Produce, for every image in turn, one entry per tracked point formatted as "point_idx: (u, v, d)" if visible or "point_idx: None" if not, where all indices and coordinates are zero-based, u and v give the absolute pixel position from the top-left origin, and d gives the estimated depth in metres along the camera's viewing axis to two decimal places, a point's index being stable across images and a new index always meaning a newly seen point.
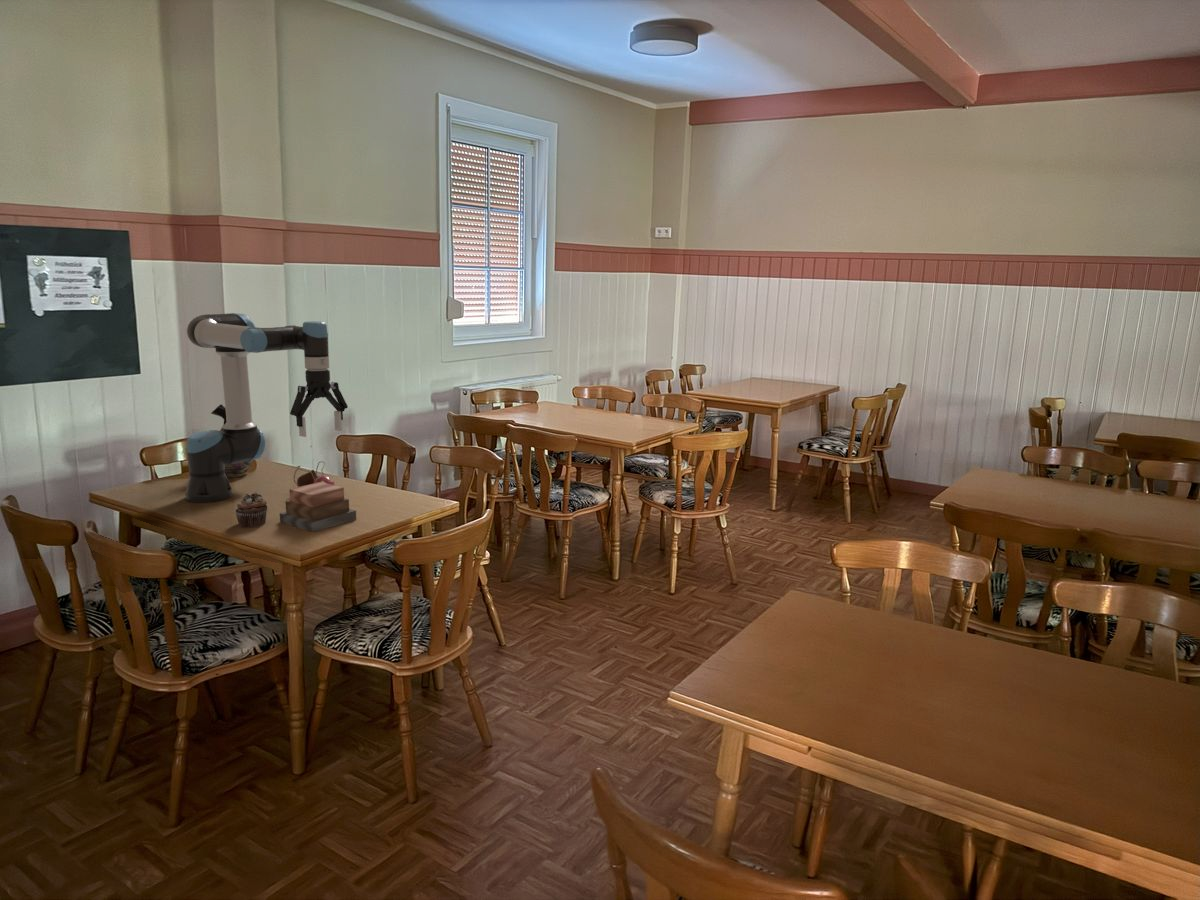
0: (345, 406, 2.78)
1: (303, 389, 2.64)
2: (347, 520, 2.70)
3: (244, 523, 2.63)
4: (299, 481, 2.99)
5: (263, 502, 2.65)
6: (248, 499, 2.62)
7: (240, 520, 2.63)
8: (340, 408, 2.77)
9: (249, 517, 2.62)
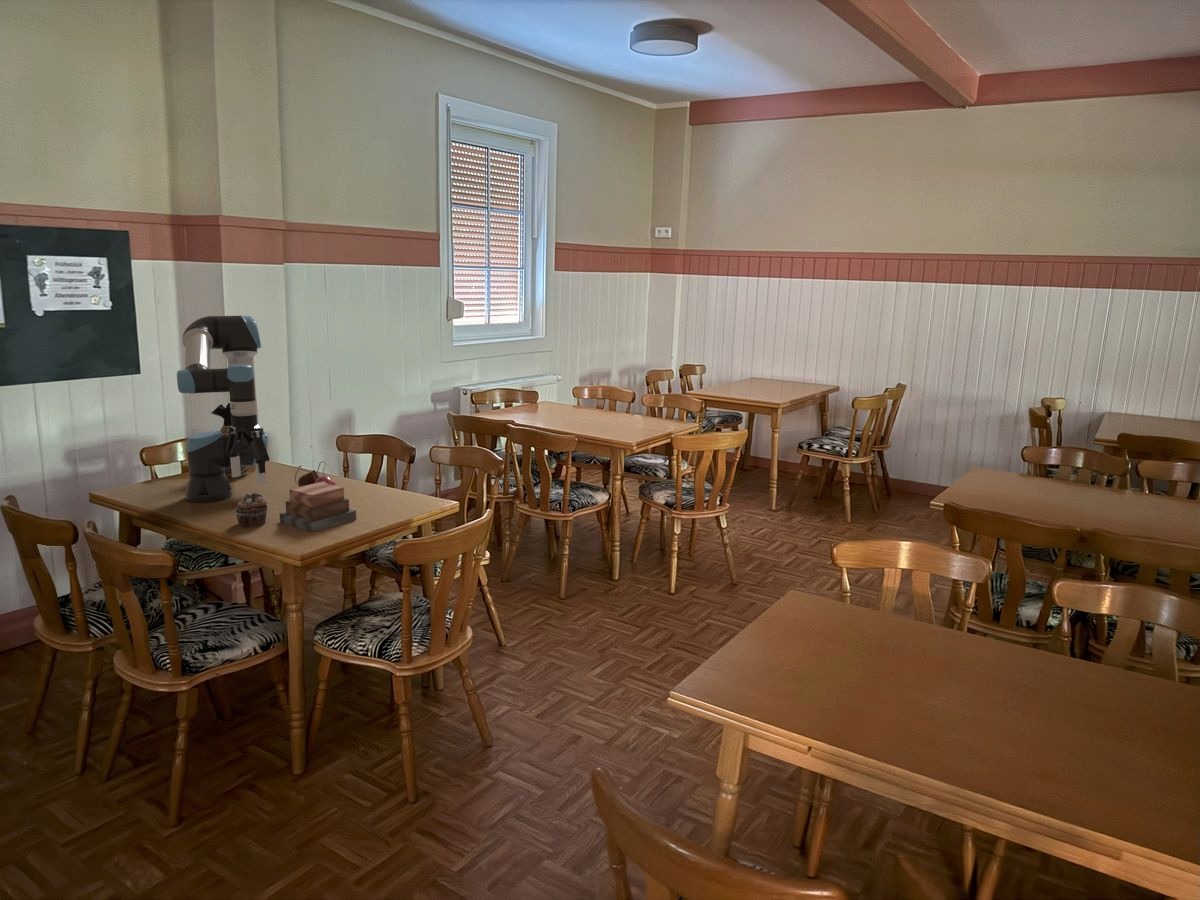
0: (260, 459, 2.56)
1: (229, 430, 2.63)
2: (347, 520, 2.70)
3: (244, 523, 2.63)
4: (300, 481, 2.99)
5: (263, 502, 2.65)
6: (248, 499, 2.62)
7: (240, 520, 2.63)
8: (256, 460, 2.57)
9: (249, 517, 2.62)
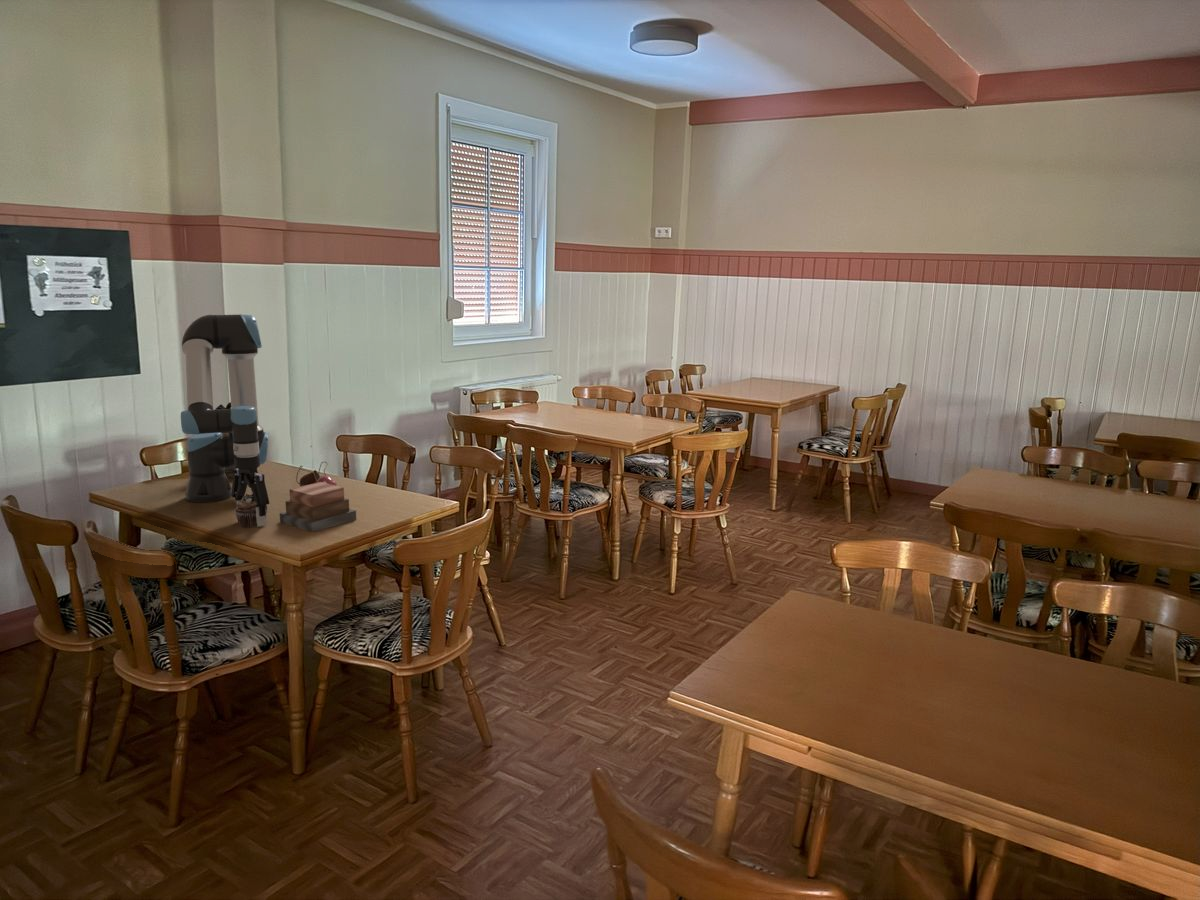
0: (260, 503, 2.60)
1: (233, 472, 2.66)
2: (347, 520, 2.70)
3: (244, 523, 2.63)
4: (301, 481, 2.98)
5: None
6: (248, 499, 2.62)
7: (240, 520, 2.63)
8: (257, 503, 2.61)
9: (249, 517, 2.62)
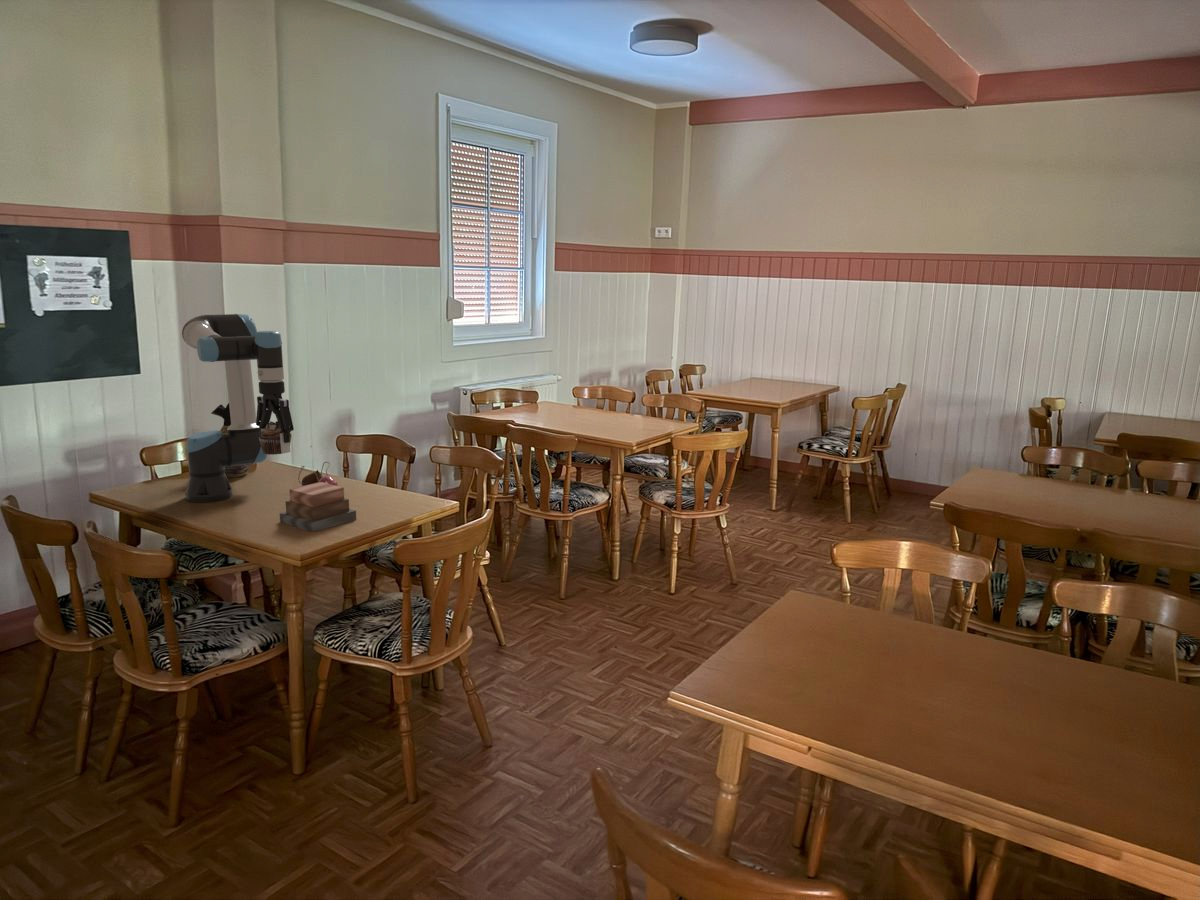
0: (285, 429, 2.56)
1: (257, 399, 2.62)
2: (347, 520, 2.70)
3: (268, 450, 2.59)
4: (303, 481, 2.98)
5: None
6: (272, 425, 2.58)
7: (264, 447, 2.59)
8: (281, 429, 2.57)
9: (273, 444, 2.58)
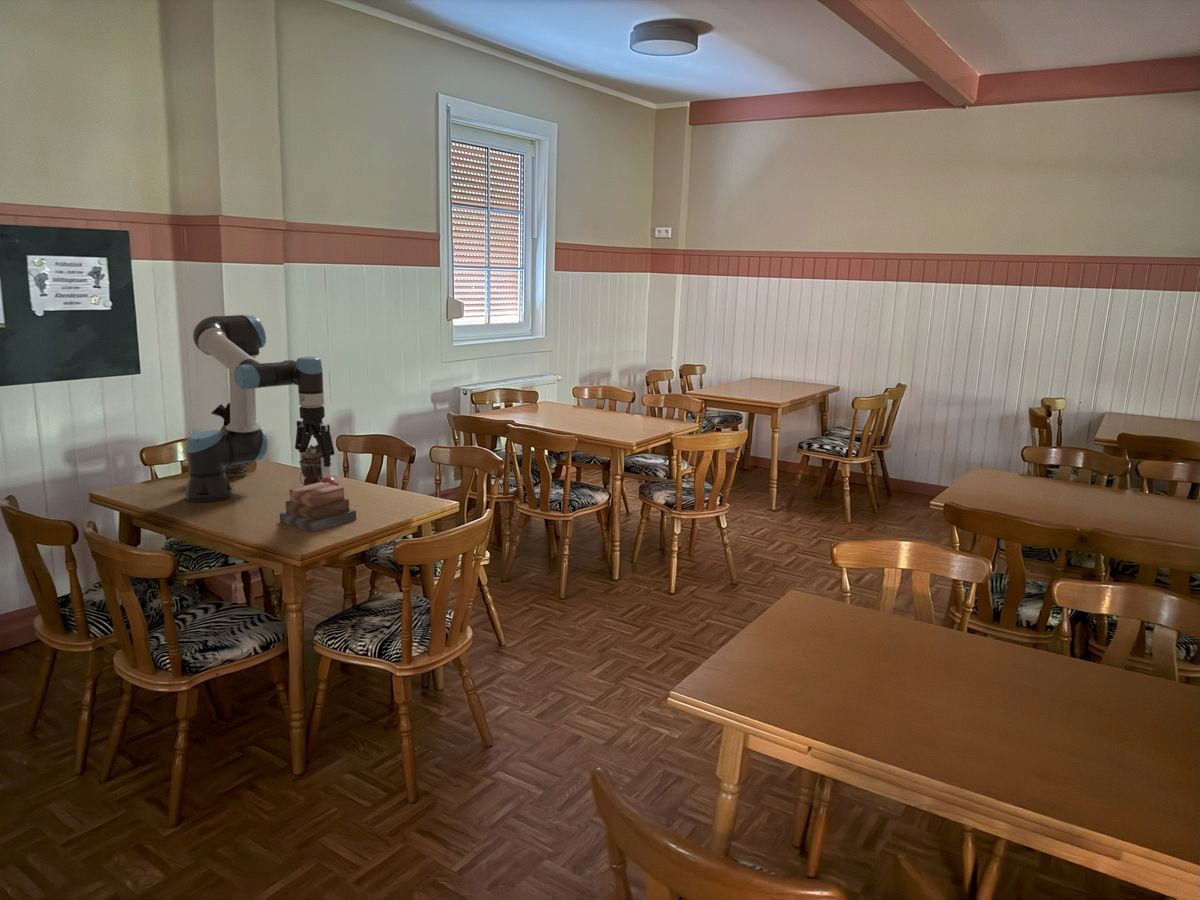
0: (326, 453, 2.61)
1: (297, 424, 2.67)
2: (347, 520, 2.70)
3: (309, 474, 2.64)
4: (305, 481, 2.98)
5: None
6: (313, 449, 2.63)
7: (305, 471, 2.64)
8: (322, 453, 2.62)
9: (314, 467, 2.63)
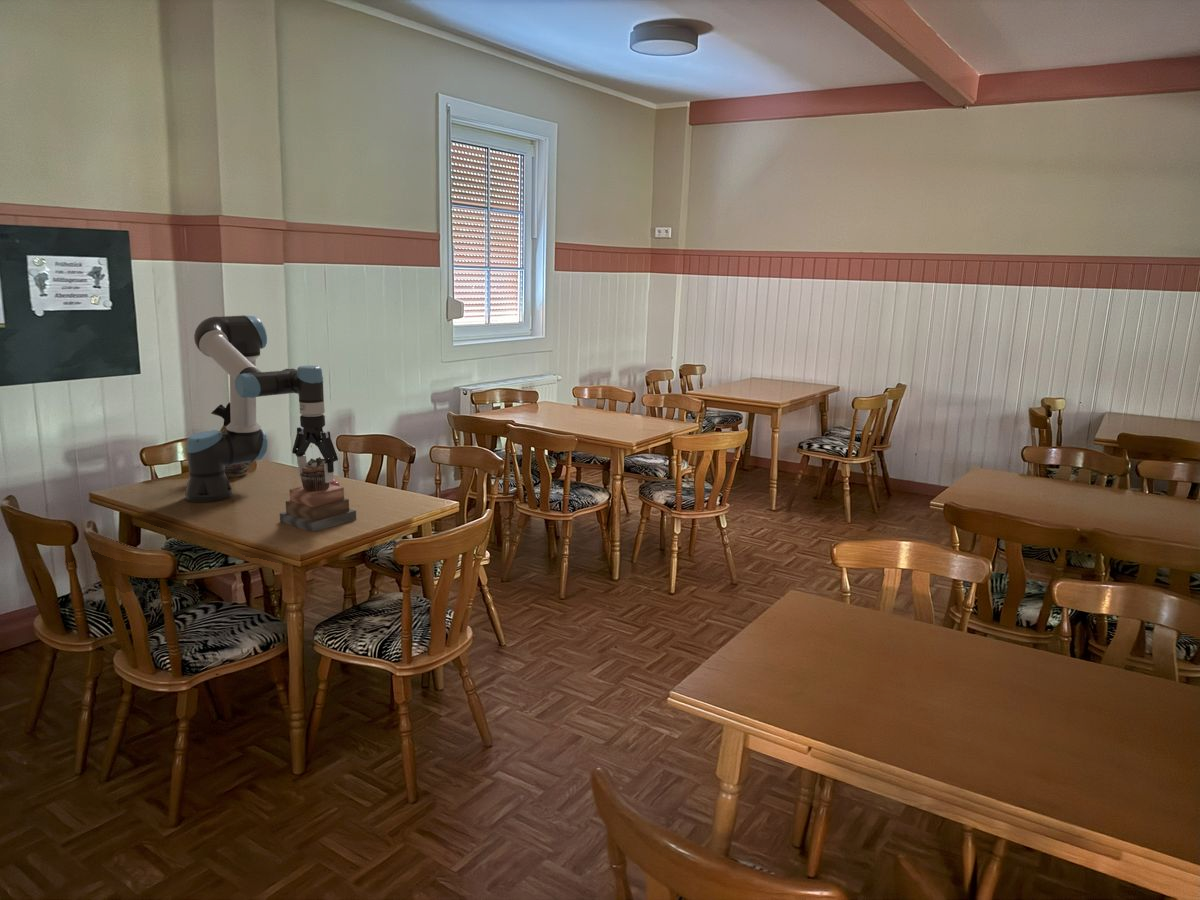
0: (329, 459, 2.60)
1: (297, 430, 2.67)
2: (347, 520, 2.70)
3: (309, 487, 2.65)
4: None
5: None
6: (313, 463, 2.64)
7: (305, 484, 2.65)
8: (325, 460, 2.62)
9: (314, 481, 2.64)
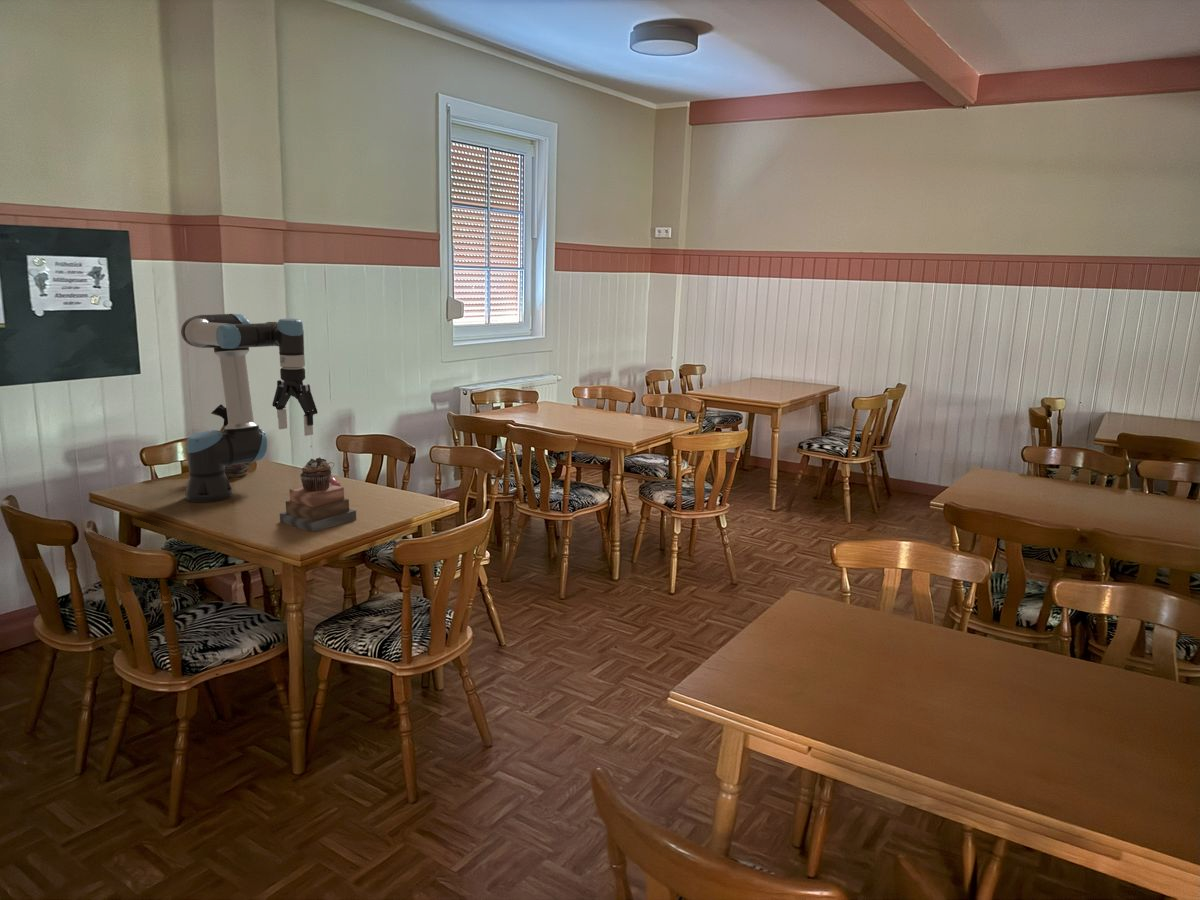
0: (309, 412, 2.62)
1: (278, 383, 2.69)
2: (347, 520, 2.70)
3: (309, 487, 2.65)
4: None
5: (328, 466, 2.67)
6: (313, 463, 2.64)
7: (305, 484, 2.65)
8: (305, 412, 2.64)
9: (314, 481, 2.64)
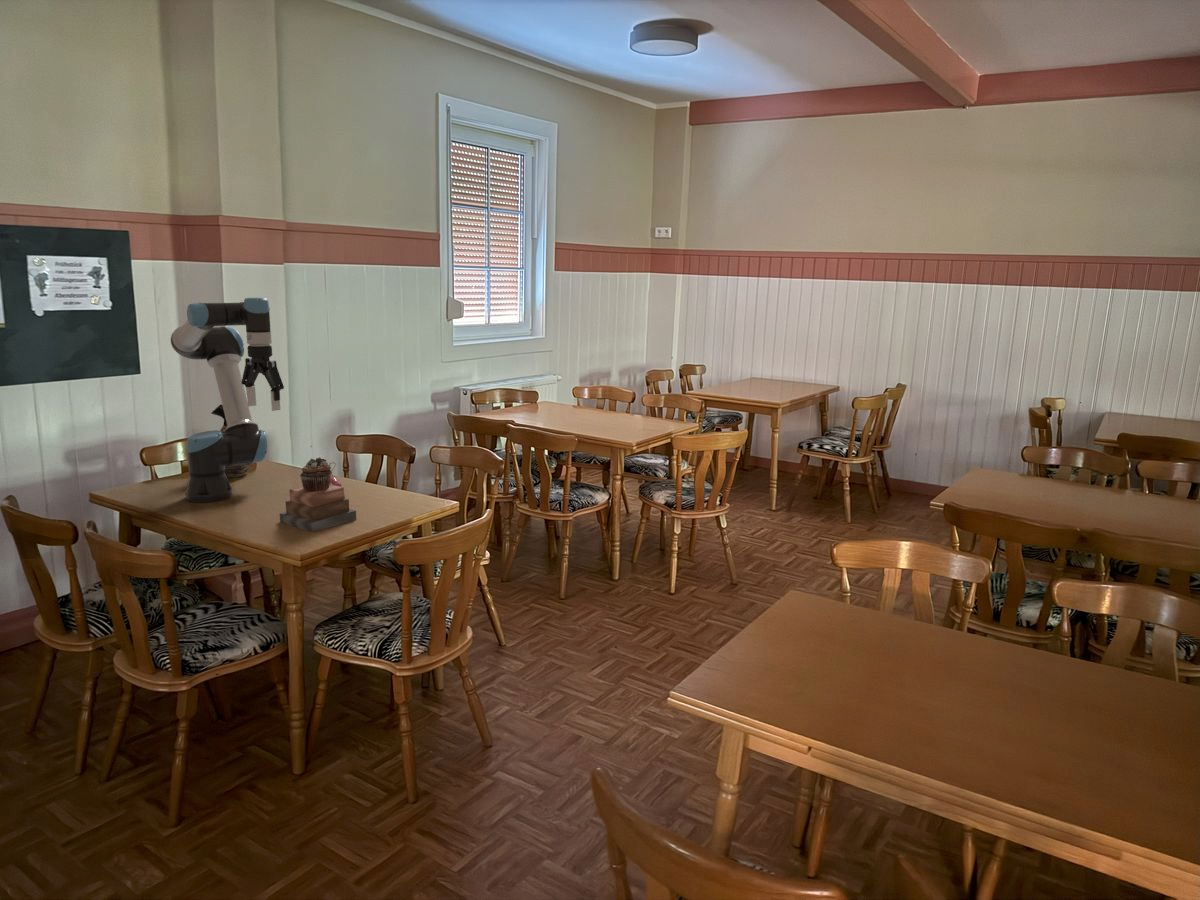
0: (275, 387, 2.70)
1: (246, 361, 2.77)
2: (347, 520, 2.70)
3: (309, 487, 2.65)
4: None
5: (328, 466, 2.67)
6: (313, 463, 2.64)
7: (305, 484, 2.65)
8: (272, 388, 2.71)
9: (314, 481, 2.64)
